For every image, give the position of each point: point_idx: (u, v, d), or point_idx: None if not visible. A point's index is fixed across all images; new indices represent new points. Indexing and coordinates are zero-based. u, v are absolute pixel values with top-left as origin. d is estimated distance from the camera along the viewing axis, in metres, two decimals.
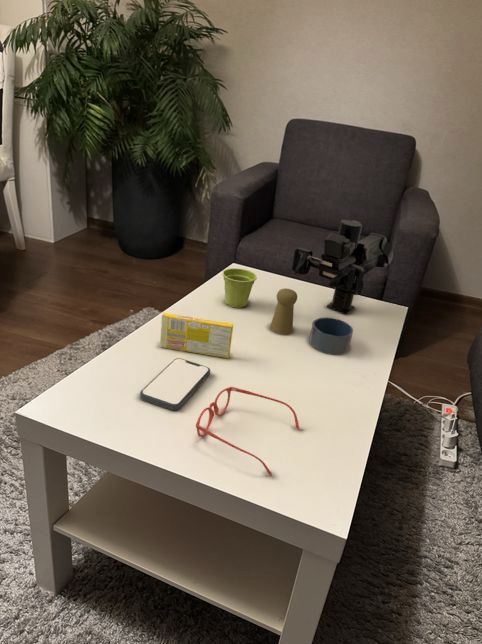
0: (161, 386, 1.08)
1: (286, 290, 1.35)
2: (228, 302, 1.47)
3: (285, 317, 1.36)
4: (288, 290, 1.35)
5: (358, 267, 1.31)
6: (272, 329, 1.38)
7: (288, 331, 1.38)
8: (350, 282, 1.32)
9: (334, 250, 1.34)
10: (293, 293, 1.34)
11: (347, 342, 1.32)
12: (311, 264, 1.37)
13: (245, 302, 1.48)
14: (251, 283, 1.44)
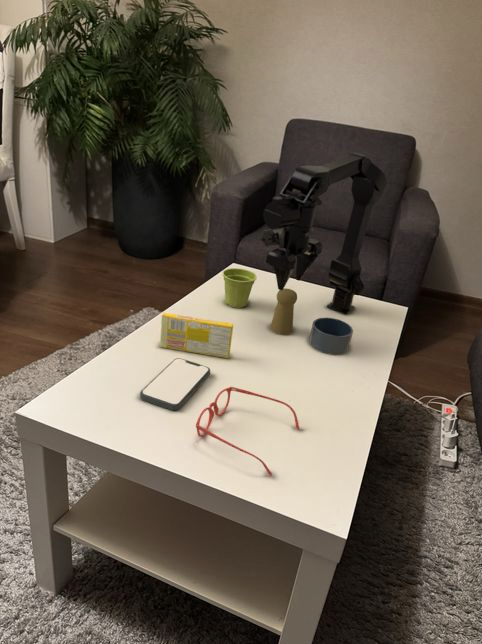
0: (161, 386, 1.08)
1: (286, 290, 1.35)
2: (228, 302, 1.47)
3: (285, 317, 1.36)
4: (288, 290, 1.35)
5: None
6: (272, 329, 1.38)
7: (288, 331, 1.38)
8: None
9: None
10: (293, 293, 1.34)
11: (347, 342, 1.32)
12: None
13: (245, 302, 1.48)
14: (251, 283, 1.44)
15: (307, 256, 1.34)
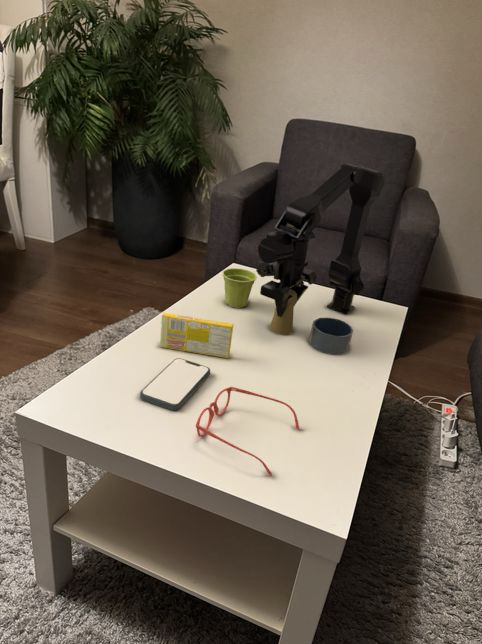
0: (161, 386, 1.08)
1: None
2: (228, 302, 1.47)
3: (285, 317, 1.36)
4: None
5: None
6: (272, 329, 1.38)
7: (288, 331, 1.38)
8: None
9: None
10: (293, 293, 1.34)
11: (347, 342, 1.32)
12: None
13: (245, 302, 1.48)
14: (251, 283, 1.44)
15: (297, 288, 1.37)
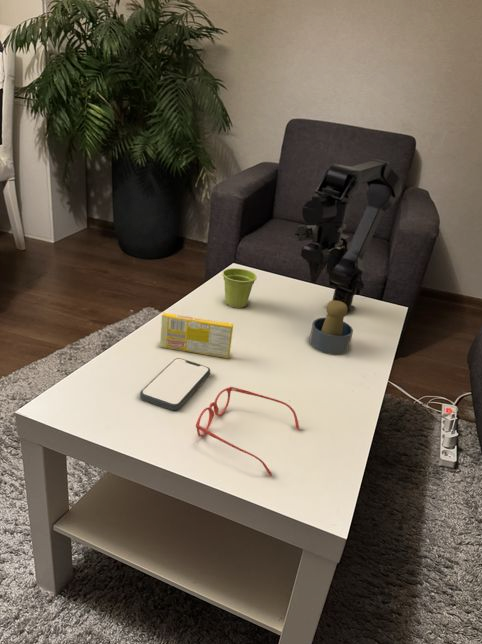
0: (161, 386, 1.08)
1: (336, 302, 1.31)
2: (228, 302, 1.47)
3: (334, 330, 1.32)
4: (338, 302, 1.31)
5: None
6: None
7: None
8: None
9: None
10: (344, 305, 1.31)
11: (347, 342, 1.32)
12: None
13: (245, 302, 1.48)
14: (251, 283, 1.44)
15: (338, 250, 1.40)
